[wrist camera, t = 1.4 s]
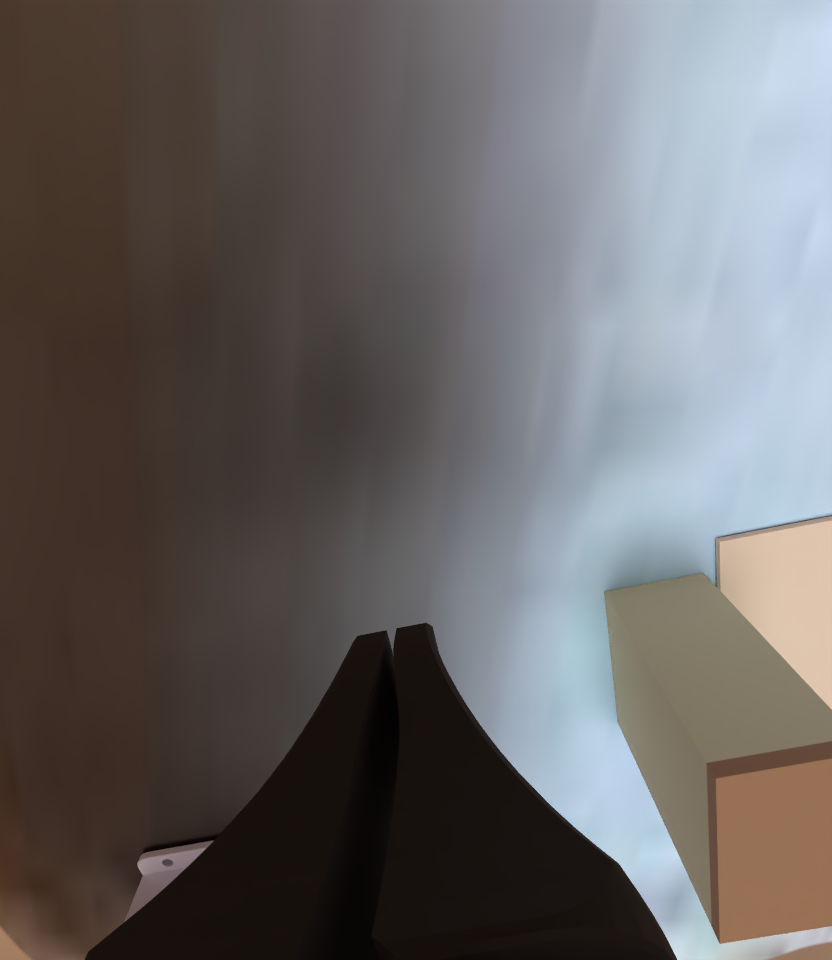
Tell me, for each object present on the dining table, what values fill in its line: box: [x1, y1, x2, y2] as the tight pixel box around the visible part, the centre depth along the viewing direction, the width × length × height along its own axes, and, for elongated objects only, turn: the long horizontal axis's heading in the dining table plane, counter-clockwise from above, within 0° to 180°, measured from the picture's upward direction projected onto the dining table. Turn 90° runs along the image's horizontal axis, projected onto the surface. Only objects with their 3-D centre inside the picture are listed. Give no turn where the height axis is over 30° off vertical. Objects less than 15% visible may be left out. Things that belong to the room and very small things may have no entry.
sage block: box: [604, 573, 832, 944], centre depth 21 cm, size 4×7×9 cm, turn 12°
